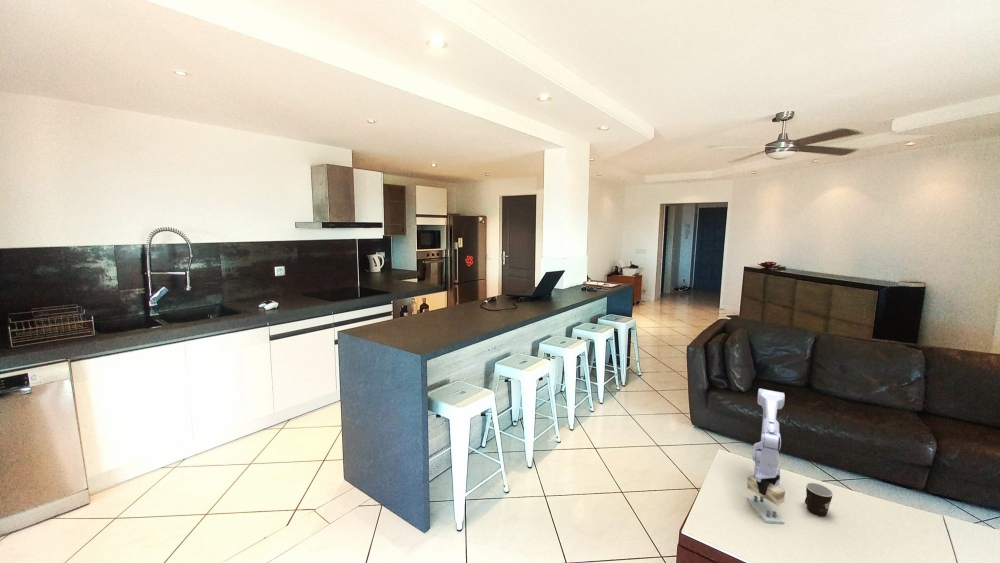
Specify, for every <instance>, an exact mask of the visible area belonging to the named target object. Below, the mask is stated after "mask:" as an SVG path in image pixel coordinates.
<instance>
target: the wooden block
mask: <svg viewBox="0 0 1000 563" xmlns="http://www.w3.org/2000/svg"><path fill="white" fill-rule="evenodd" d="M751 475H752V476H749V477H747V490H749V491H752V492H753V493H755V494H756V495H758V496H759V497H760V496H762V497H764V498H765V500H766V501H769V502H771V504H773V505H776V506H780V505H781V504H783V503H785V494H786V491H785V490H784V489H782V488H781V487H780V488H779V487H777V486H775V485H773V484H771V483H770V484H769V486H768V488H767V491H766V494H765V495H762V494H761V493H759V489H758V485H757V482H756V480H755V478H754V475H755V474H754V473H753V474H751Z"/></svg>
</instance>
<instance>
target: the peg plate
mask: <svg viewBox="0 0 1000 563" xmlns="http://www.w3.org/2000/svg"><path fill="white" fill-rule="evenodd" d="M746 500H747V502H749V504H750V505H751V506H752V507H753V509H754V511H756V513H757V514H758V515H759V517H760V518H761V519H762V520H763V521H764V523H765V524H778V525H779V524H780V525H784V524H785V521H784V520H783V518H782V517H781V516H780V515H779V513H778V512H776V510H775V509H774V508H773V507H772V505H770V503H769V502H768V500H767V499H765V498H764V497H762V496H760V495H759V497H758V496H757V495H754V496H746Z"/></svg>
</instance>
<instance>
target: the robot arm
mask: <svg viewBox="0 0 1000 563" xmlns="http://www.w3.org/2000/svg"><path fill="white" fill-rule="evenodd" d="M785 398H786V397H785V392H782V391H781V392H780V391H777V390H776V391H775V390H770V389H764V388H761V387H760V388H758V391H757V405H759V406H761V407H762V412H763V413H762V424H761V435H760V441H759V442H755V443H754V444H753V448H752V456H751V457H752V458H751V460H752V461H753V462H754V469H753V474H749V477H750V476H752V475H754V474H755V475H754V478H755V480H756V482H757V485H758V489H759V493H761V494H762V495H765V494H766V491H767V488H768V486H769V484H770V483H771V484H773V485H775V486H777V487H779V488H781V486H780V480H781V467H779V459H780V458H779V451H780V450H781V447H782V438H781V433H780V422H779V421H778V420H777V414H778V410H782V409H783V408H784V406H785V400H786V399H785Z"/></svg>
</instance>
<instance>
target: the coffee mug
mask: <svg viewBox="0 0 1000 563" xmlns="http://www.w3.org/2000/svg"><path fill="white" fill-rule="evenodd" d="M805 488H806V491H805V492H806V496H805V499H804V503H805V505H806V510H807V511H808V512H810V513H811V514H812V515H814V516H817V517H820V518H824V517H825V518H826V517H827V515H828V512H829V509H830V505H831V502H832V499H833V495H834V492H833V491H832V490H831V489H830V488H829V487H826V486H824V485H822V484H820V483H818V482H817V483H816V482H807V483H806V485H805Z"/></svg>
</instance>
